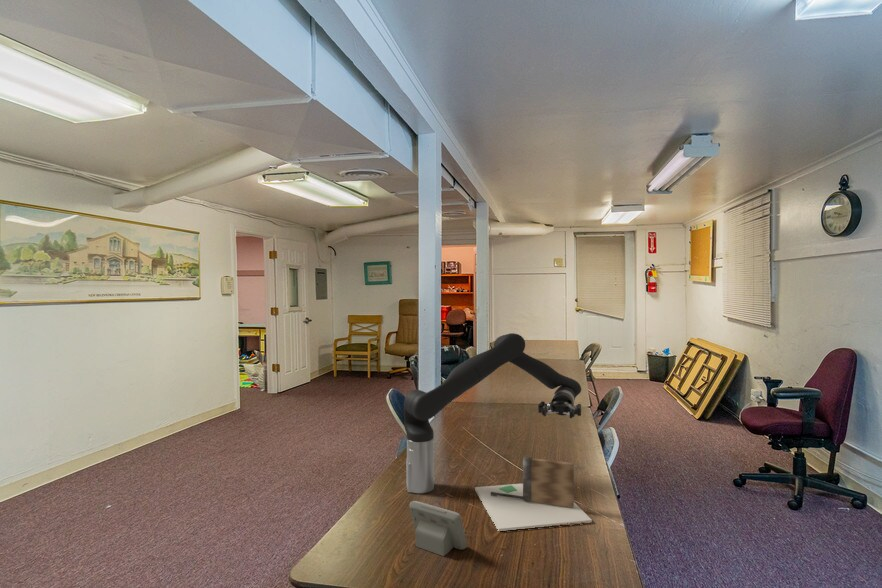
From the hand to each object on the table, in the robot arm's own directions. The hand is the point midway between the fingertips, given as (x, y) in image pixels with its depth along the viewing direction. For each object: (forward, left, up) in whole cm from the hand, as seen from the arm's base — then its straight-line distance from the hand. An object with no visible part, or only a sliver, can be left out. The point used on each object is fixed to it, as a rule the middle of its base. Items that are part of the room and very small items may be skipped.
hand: (557, 414), depth 156 cm
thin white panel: (-12, -6, -26) cm, 30 cm away
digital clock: (-44, -23, -27) cm, 57 cm away
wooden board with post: (-11, -6, -25) cm, 28 cm away
